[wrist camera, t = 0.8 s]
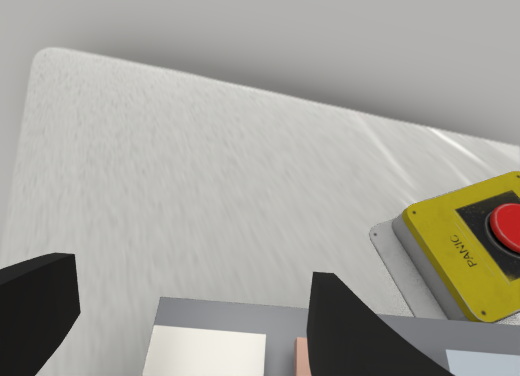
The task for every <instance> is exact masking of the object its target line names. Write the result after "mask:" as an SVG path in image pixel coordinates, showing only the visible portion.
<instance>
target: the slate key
mask: <svg viewBox="0 0 520 376" xmlns="http://www.w3.org/2000/svg"><path fill="white" fill-rule="evenodd" d="M432 358H433V361H435V362H436V363H437V364H439V365H440V366H442V367H443V368H445V369H446V370H448V371H449V372H451V373H452V374H454V375H455V376H520V356H517V355H505V354H493V353H481V352H469V351H458V350H442V351H438V352H434V353H432Z"/></svg>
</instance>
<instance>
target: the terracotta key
mask: <svg viewBox="0 0 520 376" xmlns="http://www.w3.org/2000/svg"><path fill="white" fill-rule="evenodd" d="M294 376H311V371H310V366H309V358H308V347H307V338H302V337H297V338H296V340H295V341H294Z"/></svg>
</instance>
